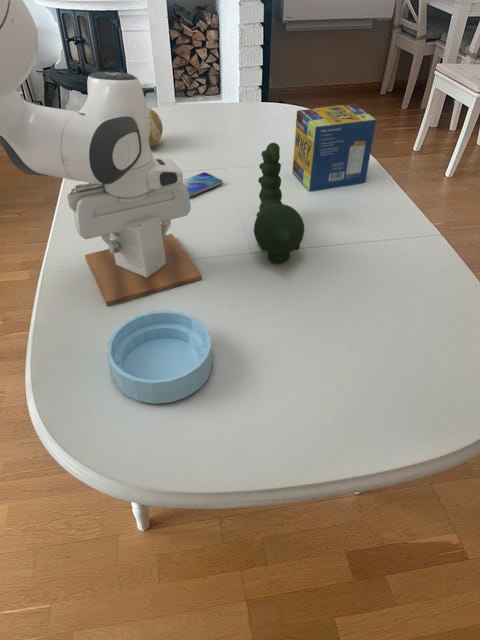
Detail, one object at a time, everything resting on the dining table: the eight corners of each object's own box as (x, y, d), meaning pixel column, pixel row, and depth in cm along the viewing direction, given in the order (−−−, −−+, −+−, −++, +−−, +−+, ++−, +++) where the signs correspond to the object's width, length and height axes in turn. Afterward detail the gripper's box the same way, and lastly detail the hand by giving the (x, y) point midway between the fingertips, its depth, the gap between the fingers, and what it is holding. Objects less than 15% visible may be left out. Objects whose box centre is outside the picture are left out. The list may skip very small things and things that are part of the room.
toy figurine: (247, 222, 115) (257, 282, 95) (247, 135, 104) (259, 182, 84) (289, 220, 116) (308, 279, 96) (293, 134, 104) (316, 180, 84)
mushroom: (99, 133, 140) (140, 94, 139) (127, 162, 147) (166, 125, 145) (103, 142, 132) (146, 101, 130) (132, 172, 138) (174, 133, 136)
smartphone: (154, 190, 121) (204, 171, 128) (155, 194, 121) (205, 174, 129) (173, 201, 117) (223, 180, 124) (173, 204, 117) (223, 184, 125)
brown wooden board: (106, 306, 91) (105, 302, 90) (85, 259, 102) (84, 254, 101) (202, 279, 97) (201, 275, 96) (172, 237, 107) (172, 233, 107)
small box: (166, 264, 98) (161, 215, 92) (147, 279, 95) (140, 229, 88) (135, 251, 102) (127, 203, 95) (115, 265, 98) (105, 216, 91)
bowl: (129, 420, 72) (123, 396, 69) (101, 350, 83) (95, 327, 79) (228, 384, 77) (227, 361, 74) (190, 323, 88) (188, 300, 84)
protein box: (291, 173, 130) (295, 110, 119) (347, 164, 133) (356, 102, 123) (308, 192, 122) (314, 126, 112) (366, 182, 126) (378, 118, 116)
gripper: (69, 196, 81) (86, 268, 90) (191, 171, 88) (195, 241, 97) (61, 179, 85) (78, 250, 94) (178, 156, 92) (183, 225, 101)
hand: (138, 245), depth 95 cm, fingers closed on small box, 7 cm apart
